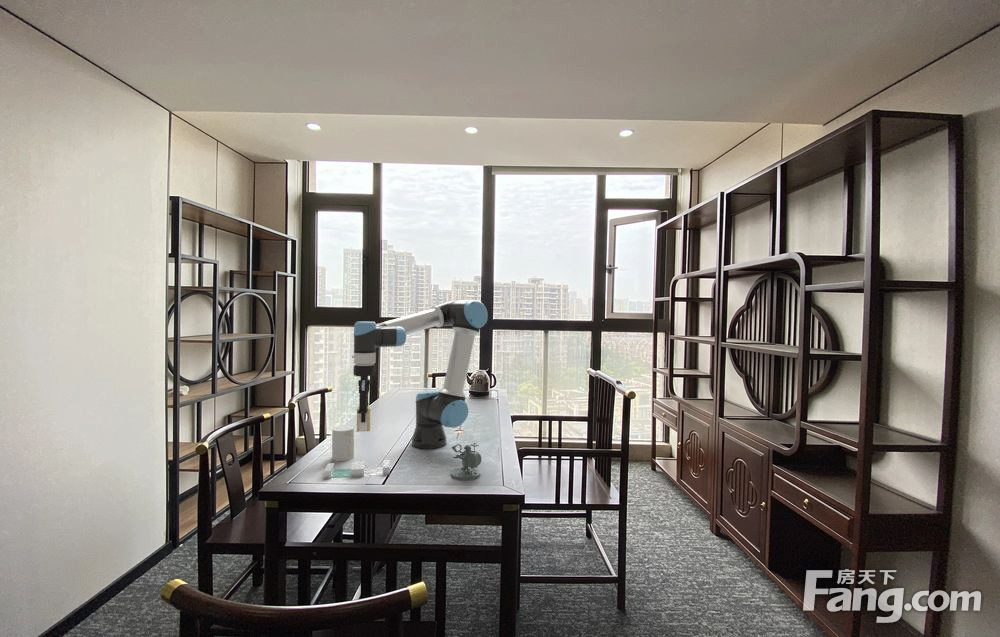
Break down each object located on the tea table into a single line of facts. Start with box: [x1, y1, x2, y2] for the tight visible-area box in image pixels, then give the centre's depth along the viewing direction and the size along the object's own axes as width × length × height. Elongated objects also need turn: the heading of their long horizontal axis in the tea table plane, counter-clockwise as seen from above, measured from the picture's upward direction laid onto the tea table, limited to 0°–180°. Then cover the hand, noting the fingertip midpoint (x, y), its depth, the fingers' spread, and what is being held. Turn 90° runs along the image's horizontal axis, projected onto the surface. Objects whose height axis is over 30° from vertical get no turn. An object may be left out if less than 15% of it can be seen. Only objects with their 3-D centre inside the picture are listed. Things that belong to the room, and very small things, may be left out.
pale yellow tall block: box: [356, 405, 372, 433], centre depth 162 cm, size 4×4×8 cm
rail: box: [323, 459, 391, 480], centre depth 162 cm, size 22×8×3 cm, turn 102°
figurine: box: [450, 442, 482, 481], centre depth 162 cm, size 11×11×12 cm
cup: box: [331, 425, 355, 462], centre depth 178 cm, size 8×8×12 cm
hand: (363, 428), depth 162 cm, fingers closed on pale yellow tall block, 4 cm apart
